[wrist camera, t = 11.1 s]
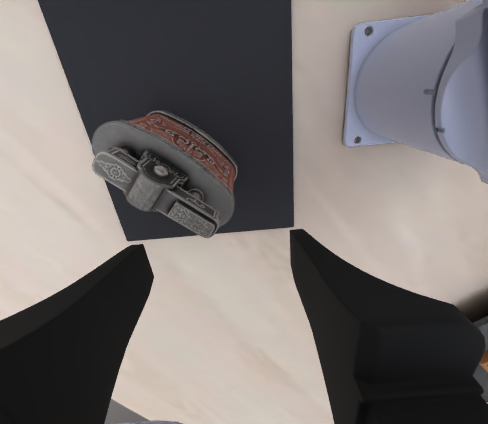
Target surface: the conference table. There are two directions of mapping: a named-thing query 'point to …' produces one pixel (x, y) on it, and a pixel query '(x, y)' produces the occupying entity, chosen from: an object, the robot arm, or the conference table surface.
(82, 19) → the desk mat
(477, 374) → the serving tray
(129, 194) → the lighter
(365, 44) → the robot arm
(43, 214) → the conference table surface
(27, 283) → the conference table surface
